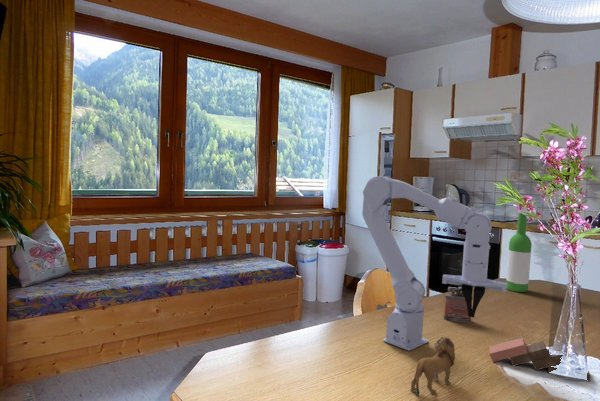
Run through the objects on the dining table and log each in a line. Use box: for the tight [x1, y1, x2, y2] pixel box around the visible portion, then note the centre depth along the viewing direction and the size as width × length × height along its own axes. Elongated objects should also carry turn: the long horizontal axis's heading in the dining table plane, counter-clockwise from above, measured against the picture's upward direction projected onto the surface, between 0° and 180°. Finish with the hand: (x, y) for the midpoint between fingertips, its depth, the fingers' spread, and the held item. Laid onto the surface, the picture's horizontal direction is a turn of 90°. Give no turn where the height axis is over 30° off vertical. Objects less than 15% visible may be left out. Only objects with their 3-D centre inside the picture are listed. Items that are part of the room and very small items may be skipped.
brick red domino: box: [488, 337, 528, 363], centre depth 105 cm, size 2×5×8 cm
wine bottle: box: [505, 212, 532, 293], centre depth 169 cm, size 8×8×30 cm
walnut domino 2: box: [531, 348, 563, 371], centre depth 101 cm, size 2×5×8 cm
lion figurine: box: [410, 336, 456, 398], centre depth 91 cm, size 15×5×9 cm, turn 140°
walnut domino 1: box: [509, 340, 549, 366], centre depth 103 cm, size 2×5×8 cm
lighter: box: [442, 286, 474, 323], centre depth 133 cm, size 8×3×10 cm, turn 84°
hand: (471, 315), depth 108 cm, fingers closed
